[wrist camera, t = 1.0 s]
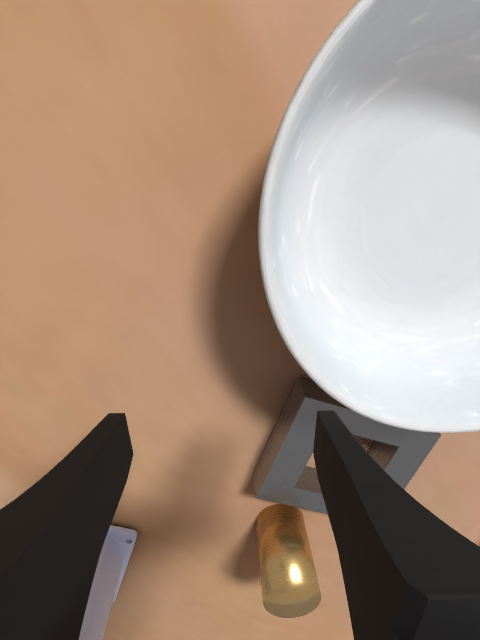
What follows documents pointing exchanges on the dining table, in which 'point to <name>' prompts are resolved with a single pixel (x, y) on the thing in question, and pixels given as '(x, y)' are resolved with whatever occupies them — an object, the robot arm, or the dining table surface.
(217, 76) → the dining table surface
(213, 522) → the dining table surface
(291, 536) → the brass cylinder
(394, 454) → the frame
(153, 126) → the dining table surface
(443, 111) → the serving bowl
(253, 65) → the dining table surface
